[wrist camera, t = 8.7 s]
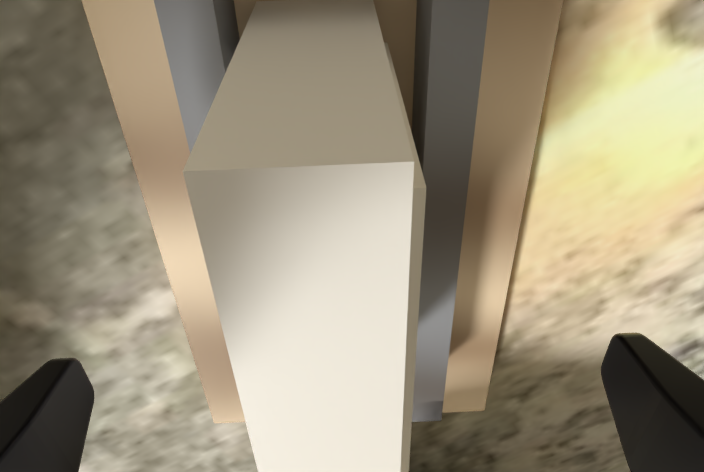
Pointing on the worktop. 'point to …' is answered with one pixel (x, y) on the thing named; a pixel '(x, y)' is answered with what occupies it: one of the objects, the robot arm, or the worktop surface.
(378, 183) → the door panel
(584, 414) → the worktop surface
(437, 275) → the track board
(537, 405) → the worktop surface
